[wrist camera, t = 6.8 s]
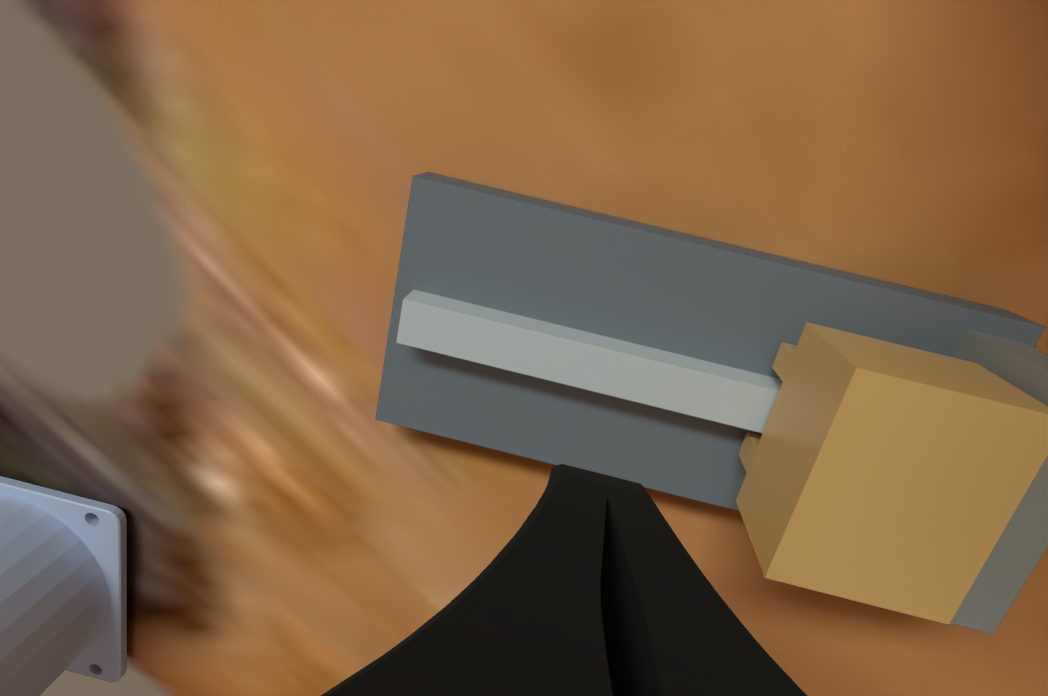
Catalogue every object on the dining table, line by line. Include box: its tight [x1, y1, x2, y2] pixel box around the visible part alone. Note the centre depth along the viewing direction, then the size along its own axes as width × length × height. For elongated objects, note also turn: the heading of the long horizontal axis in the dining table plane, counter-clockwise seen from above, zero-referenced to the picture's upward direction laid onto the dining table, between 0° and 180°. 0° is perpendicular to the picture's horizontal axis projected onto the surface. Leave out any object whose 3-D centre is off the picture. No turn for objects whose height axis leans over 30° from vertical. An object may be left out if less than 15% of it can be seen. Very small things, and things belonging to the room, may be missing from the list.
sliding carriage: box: [736, 322, 1048, 625], centre depth 14 cm, size 4×5×4 cm
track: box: [375, 172, 1048, 634], centre depth 16 cm, size 16×7×5 cm, turn 77°
